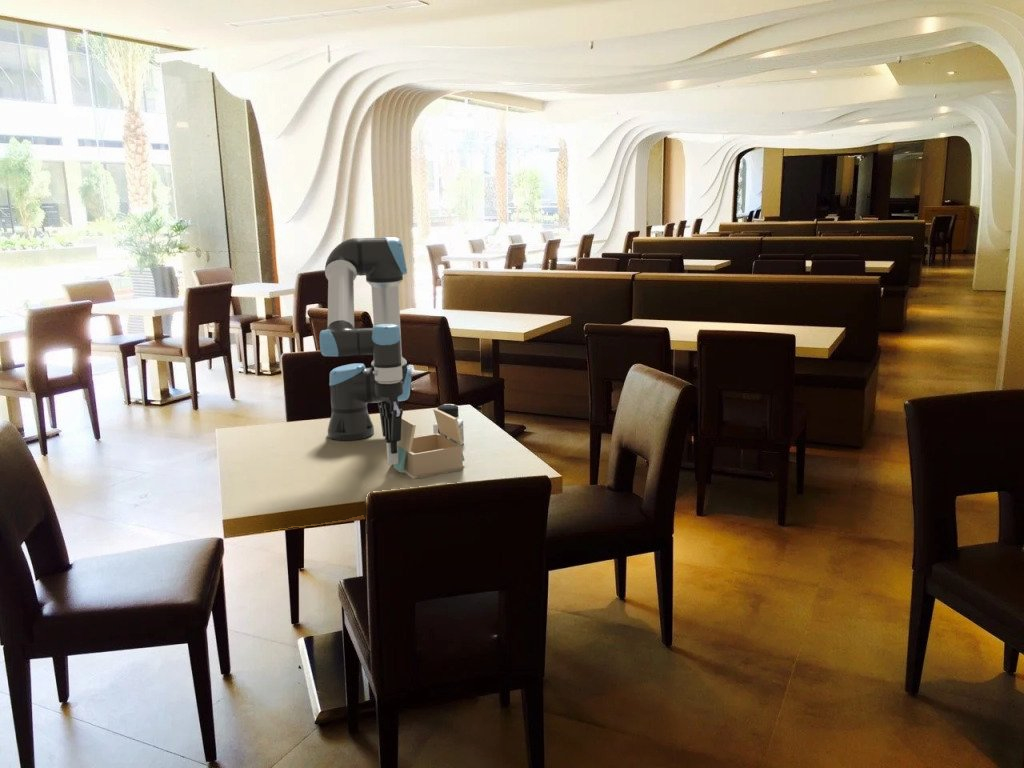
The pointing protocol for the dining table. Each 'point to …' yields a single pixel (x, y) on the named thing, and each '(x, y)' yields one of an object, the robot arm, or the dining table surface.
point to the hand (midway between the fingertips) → (393, 463)
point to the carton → (433, 456)
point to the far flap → (448, 426)
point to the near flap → (404, 443)
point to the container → (453, 412)
